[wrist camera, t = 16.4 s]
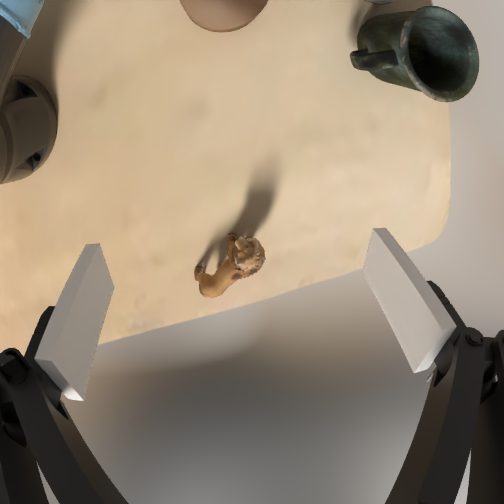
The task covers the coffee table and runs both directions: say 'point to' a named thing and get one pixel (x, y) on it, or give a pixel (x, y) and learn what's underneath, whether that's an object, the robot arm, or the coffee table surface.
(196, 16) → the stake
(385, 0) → the tray
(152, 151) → the coffee table surface
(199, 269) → the lion figurine
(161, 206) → the coffee table surface
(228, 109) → the coffee table surface
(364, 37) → the mug
